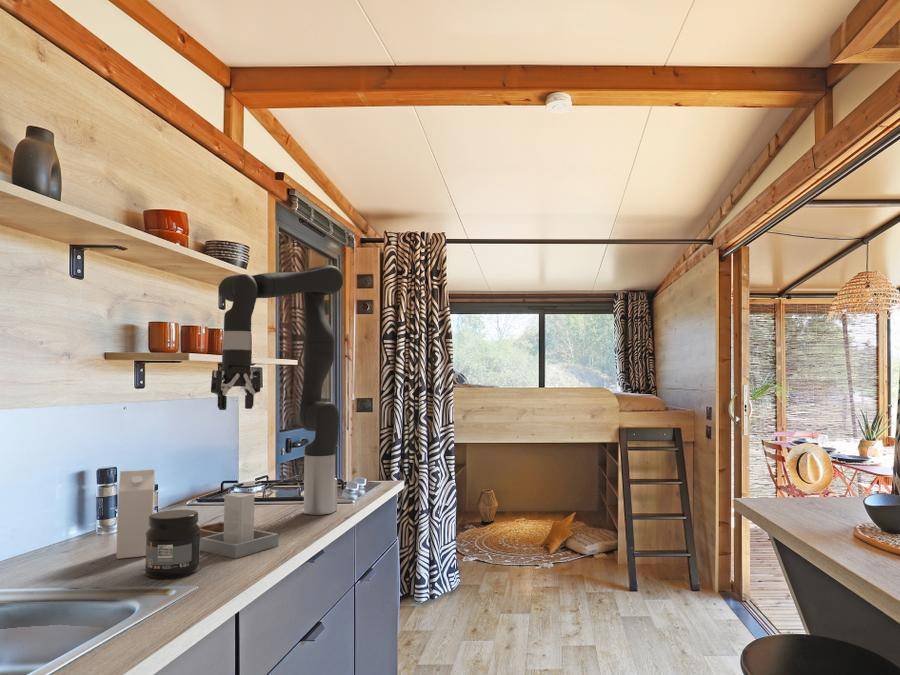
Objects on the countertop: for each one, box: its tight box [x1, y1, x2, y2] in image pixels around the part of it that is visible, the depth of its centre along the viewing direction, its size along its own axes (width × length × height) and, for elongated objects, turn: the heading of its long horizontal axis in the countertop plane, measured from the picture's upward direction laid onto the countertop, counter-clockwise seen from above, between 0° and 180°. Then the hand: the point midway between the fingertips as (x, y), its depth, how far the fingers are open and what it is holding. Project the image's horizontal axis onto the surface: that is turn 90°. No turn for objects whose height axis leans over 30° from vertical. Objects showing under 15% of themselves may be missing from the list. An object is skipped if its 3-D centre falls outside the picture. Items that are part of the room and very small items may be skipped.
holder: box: [199, 521, 224, 538], centre depth 160 cm, size 9×11×2 cm
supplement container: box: [144, 509, 201, 580], centre depth 131 cm, size 10×10×12 cm
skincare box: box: [223, 492, 255, 544], centre depth 150 cm, size 6×4×12 cm
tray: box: [199, 529, 279, 559], centre depth 150 cm, size 13×13×3 cm
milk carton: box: [115, 469, 155, 560], centre depth 146 cm, size 7×7×19 cm
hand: (235, 409), depth 168 cm, fingers open, 8 cm apart
